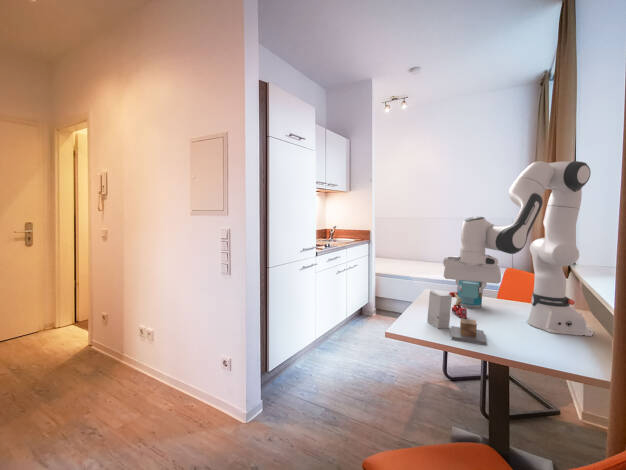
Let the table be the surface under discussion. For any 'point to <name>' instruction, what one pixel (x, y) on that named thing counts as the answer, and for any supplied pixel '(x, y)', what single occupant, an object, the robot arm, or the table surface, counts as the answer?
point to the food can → (468, 301)
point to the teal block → (470, 289)
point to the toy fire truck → (458, 310)
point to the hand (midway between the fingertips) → (470, 291)
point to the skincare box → (439, 308)
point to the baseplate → (478, 339)
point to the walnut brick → (468, 327)
